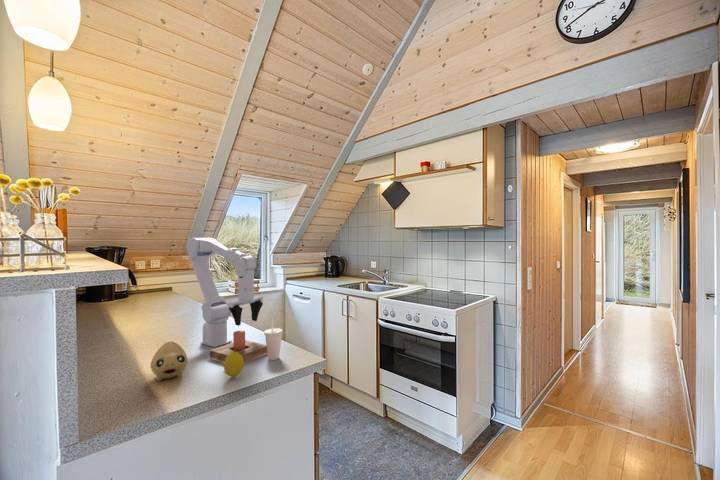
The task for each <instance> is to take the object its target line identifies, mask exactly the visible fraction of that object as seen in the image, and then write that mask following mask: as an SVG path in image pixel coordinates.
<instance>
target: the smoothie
mask: <svg viewBox="0 0 720 480" xmlns="http://www.w3.org/2000/svg"><path fill="white" fill-rule="evenodd" d="M283 333H284V331H283V329H282V328H274V318H271V328H270V329H269V328H268V329H266V330H264V333H263V335H264V336H265V343H266V344H265V345H267V352H268V354H267V359H268V360H270V361H276V360H279V358H280V353H281V344H282V338H283V337H282V334H283Z"/></svg>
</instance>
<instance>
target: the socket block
mask: <svg viewBox="0 0 720 480" xmlns="http://www.w3.org/2000/svg"><path fill="white" fill-rule="evenodd" d="M232 352H236V353H239V354H240V355H241V356H242V358H243V362H244V364H246V363H249V362H251V361H253V360H254V361H255V360H256V359H259V358H261V357H263V356H266V355H268V352H267V345H266V344H262V343H259V342H255V341H251V340H247V339H245V349H244V350H241V351H234V350H233V342H230V343H227V344H224V345H220V346H217V347H214V348H212V349H210V350H209V359H210V360H212V361H216V362H219V363H223V364H224V362H225V359H226V357H227V356H228V355H229V354H231V353H232Z"/></svg>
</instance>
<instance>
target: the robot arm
mask: <svg viewBox="0 0 720 480" xmlns="http://www.w3.org/2000/svg"><path fill="white" fill-rule="evenodd" d="M185 248H186V251H187V254H188V256H189V259H190V261H191V262H190V263H191V265H192V267H193V271H194V274H195V276H196V279H197V281H198V284H199V287H200V289H201V293H202V295H203V297H204V302H203V303H202V305H201V307H200V308H201V310H202V318H203V320H204V321H205V322H204V323H203V325H202V341H201V342H200V344H201V345H206V346H209V347H212V348H218V347H221V346H224V345H227V344H230V343H233V340H230V339H228V320H229V318H230V316H231V315H232V317H233V320H234V324H235V326H241V323H242V314H243V313H242V312H243V310H244V309H243V307H241V306H244V305H248V304H249V305H250V313H251V321H254V322H257V321H258V319H259V318H258V317H259V314H260V311H261V308H262V307H263V305H264V302H263V301H264V296H262V295H257V296H255V270H256V269H257V267H258V260H257V258H256V257H254V255H248V256H247V255H246V253H244V252H241V251H239V250H238V248H237V247H230V248H227V247H226V246H225V245H223V244H221V243H220V242H219V241H218V240H217V239H215V238H213V237H191V238H189V239H188V241H187V243H186V246H185ZM213 253H215V254H217V255H220V256H222V257H223V260H224V261H225V262H226V263H228V264H230V265H231V266H234V268H235V270H236V275H237V277H238V279H237V280H238V281H237V282H238V285H237V286H238V287H237V288H238V289H237V291H238V292H237V293H238V296H237V297H238V298H237V299H234V300H232V301H227V299H226V298H225V297H223V296H221V295H220V294H219V291H218V289H217V287H216V283H215V281H214V278H213V276H212V272H211V270H210V268H209V265H208V260H209V259H210V258H211V257H212V255H213Z"/></svg>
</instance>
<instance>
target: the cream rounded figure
mask: <svg viewBox="0 0 720 480" xmlns="http://www.w3.org/2000/svg"><path fill="white" fill-rule="evenodd" d="M188 360H189V359H188V356H187V353H186V351H185V350H184V349H183V347H181V345H180V344H178V343H176V342H175V341H167V342H164V344H162V345H161V346H160V347H159V348H158V349H157V351H156V352H155V353H154V355H153V357H152V358H151V361H150V366H149V367H150V369H151V372H152V373H153V374H154V375H155V376H156V380H157V381H162V380H163V379H171V378H173V377H177V378H181V377H182V373H183V371H184V370H185V369H186V367H187V365H188Z"/></svg>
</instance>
